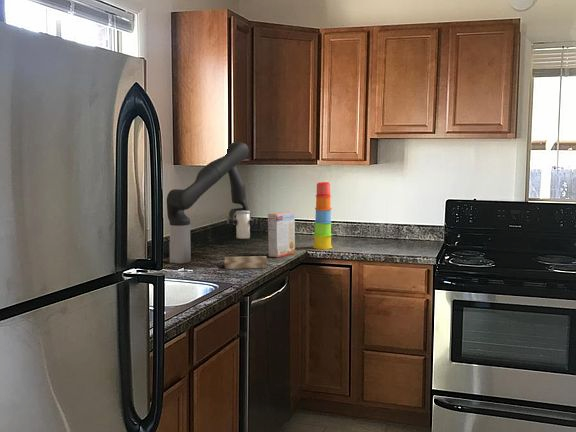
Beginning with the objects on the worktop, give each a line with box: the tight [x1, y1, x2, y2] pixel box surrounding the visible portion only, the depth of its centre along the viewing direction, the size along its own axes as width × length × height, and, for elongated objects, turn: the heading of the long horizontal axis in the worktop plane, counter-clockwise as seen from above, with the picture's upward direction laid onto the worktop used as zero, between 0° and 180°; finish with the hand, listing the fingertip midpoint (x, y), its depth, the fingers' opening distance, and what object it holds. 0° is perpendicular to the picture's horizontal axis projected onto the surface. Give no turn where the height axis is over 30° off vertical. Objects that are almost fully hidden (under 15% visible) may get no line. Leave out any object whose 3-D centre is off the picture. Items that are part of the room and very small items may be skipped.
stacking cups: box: [312, 181, 333, 250], centre depth 326 cm, size 10×10×35 cm
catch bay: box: [224, 255, 268, 270], centre depth 273 cm, size 18×11×5 cm, turn 97°
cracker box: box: [267, 211, 296, 258], centre depth 302 cm, size 14×6×21 cm, turn 141°
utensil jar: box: [235, 210, 251, 239], centre depth 279 cm, size 6×6×12 cm
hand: (243, 222), depth 276 cm, fingers closed on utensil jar, 6 cm apart
